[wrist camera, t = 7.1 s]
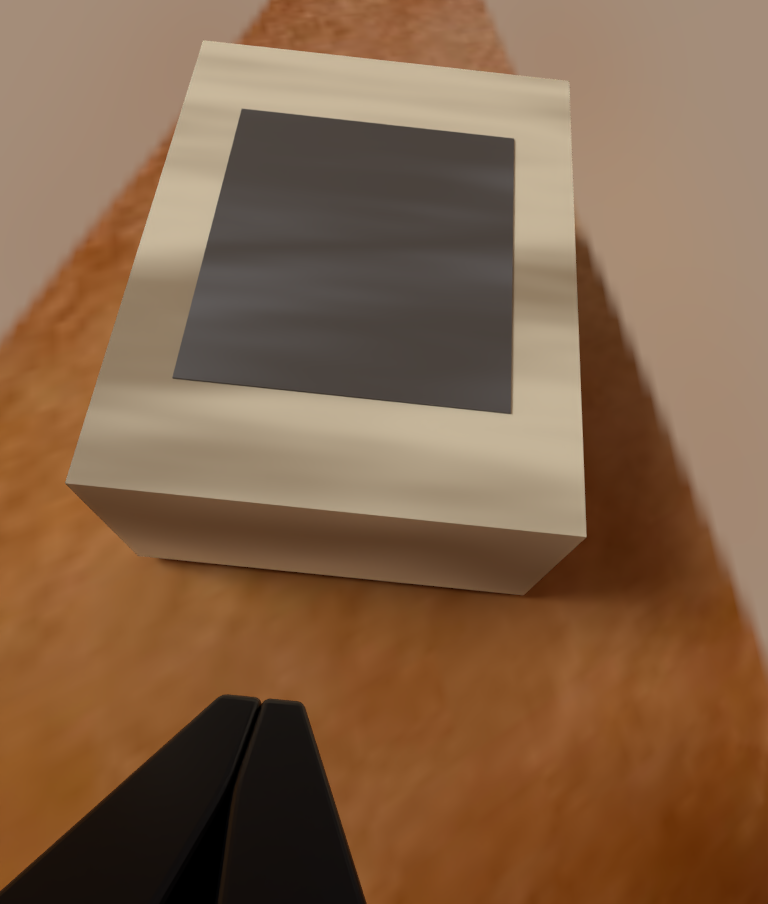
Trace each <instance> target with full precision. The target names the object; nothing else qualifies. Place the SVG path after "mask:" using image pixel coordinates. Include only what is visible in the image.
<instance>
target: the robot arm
mask: <svg viewBox="0 0 768 904" xmlns="http://www.w3.org/2000/svg"><path fill="white" fill-rule="evenodd" d="M0 904H367V903H366V900H365V897H364V894H363V891H362V887H361V884H360V881H359V878H358V875H357V871H356V868H355V865H354V862H353V859H352V855H351V852H350V849H349V846H348V843H347V840H346V836H345V833H344V830H343V827H342V824H341V820H340V817H339V814H338V811H337V808H336V804H335V801H334V798H333V795H332V792H331V789H330V785H329V782H328V779H327V776H326V773H325V769H324V766H323V763H322V760H321V757H320V753H319V750H318V747H317V744H316V741H315V738H314V734H313V731H312V728H311V725H310V722H309V718H308V715H307V712H306V709H305V707H304V705H303V704H302V703H301V702H298V701H289V700H279V699H267V700H265V701H264V702H263V703H262V704H261V701H260V700H259V699H258V698H256V697H248V696H238V695H228V694H227V695H222V696H220V697H218V698H217V699H216V700H214V701H213V702H212V703H211V704H210V705H209V706H208V707H207V708H205V709H204V710H203V711H202V712H201V713H200V714H199V715H198V716H196V717H195V718H194V719H193V720H192V721H191V722H190V723H189V724H187V725H186V726H185V727H184V728H183V729H182V730H181V731H180V732H178V733H177V734H176V735H175V736H174V737H173V738H172V739H171V740H170V741H168V742H167V743H166V744H165V745H164V746H163V747H162V748H161V749H159V750H158V751H157V752H156V753H155V754H154V755H153V756H152V757H150V758H149V759H148V760H147V761H146V762H145V763H144V764H143V765H141V766H140V767H139V768H138V769H137V770H136V771H135V772H134V773H132V774H131V775H130V776H129V777H128V778H127V779H126V780H125V781H123V782H122V783H121V784H120V785H119V786H118V787H117V788H116V789H115V790H113V791H112V792H111V793H110V794H109V795H108V796H107V797H106V798H104V799H103V800H102V801H101V802H100V803H99V804H98V805H97V806H95V807H94V808H93V809H92V810H91V811H90V812H89V813H88V814H86V815H85V816H84V817H83V818H82V819H81V820H80V821H79V822H77V823H76V824H75V825H74V826H73V827H72V828H71V829H70V830H68V831H67V832H66V833H65V834H64V835H63V836H62V837H61V838H60V839H58V840H57V841H56V842H55V843H54V844H53V845H52V846H51V847H49V848H48V849H47V850H46V851H45V852H44V853H43V854H42V855H40V856H39V857H38V858H37V859H36V860H35V861H34V862H33V863H31V864H30V865H29V866H28V867H27V868H26V869H25V870H24V871H22V872H21V873H20V874H19V875H18V876H17V877H16V878H15V879H13V880H12V881H11V882H10V883H9V884H8V885H7V886H6V887H5V888H3V889H2V890H1V891H0Z"/></svg>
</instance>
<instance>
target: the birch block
mask: <svg viewBox="0 0 768 904" xmlns="http://www.w3.org/2000/svg"><path fill="white" fill-rule="evenodd" d="M569 92H570V91H569V81H564V80H555V79H546V78H537V77H528V76H519V75H510V74H501V73H492V72H483V71H474V70H465V69H456V68H447V67H438V66H429V65H420V64H411V63H402V62H393V61H384V60H375V59H366V58H357V57H348V56H339V55H330V54H321V53H312V52H303V51H294V50H285V49H276V48H267V47H258V46H249V45H240V44H231V43H222V42H213V41H203V43H202V46H201V49H200V52H199V56H198V59H197V62H196V65H195V69H194V72H193V75H192V78H191V81H190V84H189V88H188V91H187V94H186V97H185V100H184V104H183V107H182V110H181V113H180V116H179V120H178V123H177V126H176V129H175V132H174V136H173V139H172V142H171V145H170V148H169V152H168V155H167V158H166V161H165V165H164V168H163V171H162V174H161V177H160V181H159V184H158V187H157V190H156V193H155V197H154V200H153V203H152V206H151V209H150V213H149V216H148V219H147V222H146V225H145V229H144V232H143V235H142V238H141V241H140V245H139V248H138V251H137V254H136V257H135V261H134V264H133V267H132V270H131V273H130V277H129V280H128V283H127V286H126V289H125V293H124V296H123V299H122V302H121V306H120V309H119V312H118V315H117V318H116V322H115V325H114V328H113V331H112V334H111V338H110V341H109V344H108V347H107V350H106V354H105V357H104V360H103V363H102V366H101V370H100V373H99V376H98V379H97V382H96V386H95V389H94V392H93V395H92V398H91V402H90V405H89V408H88V411H87V414H86V418H85V421H84V424H83V427H82V430H81V434H80V437H79V440H78V443H77V447H76V450H75V453H74V456H73V459H72V463H71V466H70V469H69V472H68V475H67V479H66V482H65V484H66V485H67V486H68V487H69V488H70V489H71V490H72V491H73V492H74V493H75V494H76V495H77V496H78V497H79V498H80V499H81V500H82V501H83V502H84V503H85V504H86V505H87V506H88V507H89V508H90V509H91V510H93V511H94V512H95V513H96V514H97V515H98V516H99V517H100V518H101V519H102V520H103V521H104V522H105V523H106V524H107V525H108V526H109V527H110V528H111V529H112V530H113V531H114V532H115V533H116V534H117V535H118V536H119V537H120V538H121V539H122V540H123V541H124V542H125V543H126V544H127V545H128V546H129V547H130V548H131V549H132V550H133V551H134V552H135V553H136V554H137V555H138V556H144V557H154V558H164V559H174V560H183V561H193V562H203V563H213V564H223V565H232V566H242V567H252V568H262V569H271V570H281V571H291V572H301V573H311V574H320V575H330V576H340V577H350V578H360V579H369V580H379V581H389V582H399V583H408V584H418V585H428V586H438V587H448V588H457V589H467V590H477V591H487V592H497V593H506V594H516V595H524V594H525V593H527V592H528V591H529V590H530V589H531V588H532V587H533V586H534V585H535V584H536V583H537V582H538V581H540V580H541V579H542V578H543V577H544V576H545V575H546V574H547V573H548V572H549V571H550V570H551V569H553V568H554V567H555V566H556V565H557V564H558V563H559V562H560V561H561V560H562V559H563V558H564V557H565V556H567V555H568V554H569V553H570V552H571V551H572V550H573V549H574V548H575V547H576V546H577V545H578V544H580V543H581V542H582V541H583V540H584V539H585V538H586V537H587V535H586V509H585V483H584V457H583V431H582V404H581V378H580V352H579V326H578V300H577V274H576V248H575V221H574V195H573V171H572V170H573V169H572V144H571V117H570V93H569Z"/></svg>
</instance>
